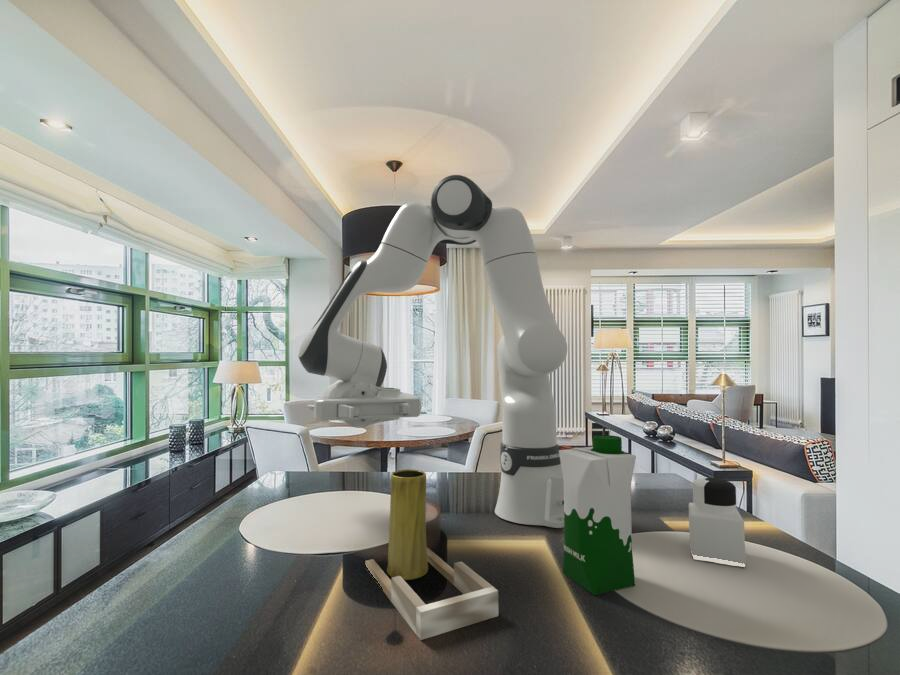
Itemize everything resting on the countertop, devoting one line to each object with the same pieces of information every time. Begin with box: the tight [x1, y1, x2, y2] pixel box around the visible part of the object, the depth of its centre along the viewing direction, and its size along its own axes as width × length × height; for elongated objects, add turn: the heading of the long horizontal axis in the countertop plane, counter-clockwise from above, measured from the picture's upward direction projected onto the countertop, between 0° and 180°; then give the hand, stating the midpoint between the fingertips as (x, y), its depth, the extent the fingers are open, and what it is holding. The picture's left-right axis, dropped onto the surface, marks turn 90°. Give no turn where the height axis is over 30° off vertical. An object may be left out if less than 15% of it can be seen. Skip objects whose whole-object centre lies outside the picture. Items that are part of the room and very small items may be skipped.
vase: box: [386, 468, 429, 581], centre depth 67 cm, size 6×6×14 cm
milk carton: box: [559, 434, 637, 596], centre depth 65 cm, size 9×9×20 cm
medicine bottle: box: [688, 476, 746, 564], centre depth 73 cm, size 7×7×12 cm
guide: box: [364, 547, 499, 641], centre depth 61 cm, size 10×20×3 cm, turn 28°
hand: (381, 411), depth 79 cm, fingers open, 8 cm apart
